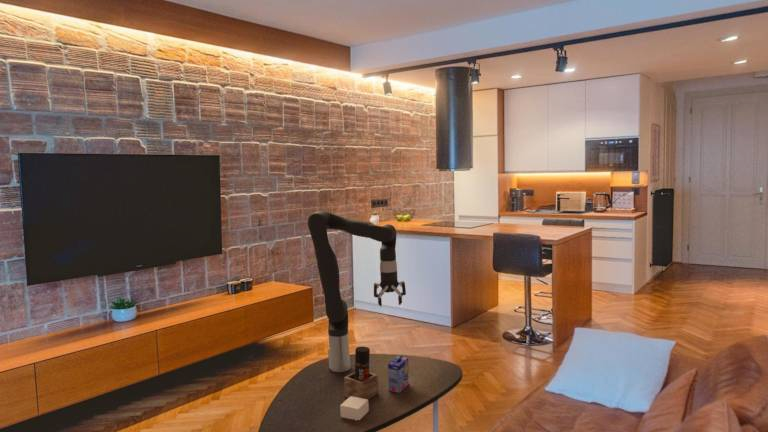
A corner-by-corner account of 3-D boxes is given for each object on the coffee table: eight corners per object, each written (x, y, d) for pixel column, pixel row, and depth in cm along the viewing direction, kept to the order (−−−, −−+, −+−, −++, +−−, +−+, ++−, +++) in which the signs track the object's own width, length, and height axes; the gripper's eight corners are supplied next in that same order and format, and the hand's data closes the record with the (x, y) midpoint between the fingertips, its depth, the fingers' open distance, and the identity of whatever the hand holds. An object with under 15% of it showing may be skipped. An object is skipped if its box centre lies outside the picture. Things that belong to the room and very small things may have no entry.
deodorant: (355, 387, 218) (357, 352, 217) (353, 381, 224) (354, 346, 223) (370, 386, 220) (371, 351, 218) (366, 380, 226) (367, 346, 224)
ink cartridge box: (399, 393, 222) (398, 360, 220) (388, 391, 225) (386, 358, 223) (409, 383, 231) (408, 352, 229) (398, 381, 234) (396, 350, 232)
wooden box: (344, 396, 223) (343, 377, 221) (361, 387, 230) (360, 368, 229) (362, 403, 216) (361, 383, 215) (378, 393, 224) (377, 374, 222)
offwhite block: (340, 417, 206) (340, 405, 205) (351, 407, 213) (350, 396, 212) (358, 421, 202) (358, 409, 202) (368, 411, 209) (368, 399, 209)
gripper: (373, 272, 232) (375, 308, 234) (405, 270, 233) (407, 306, 235) (372, 268, 239) (373, 303, 241) (403, 266, 240) (404, 301, 243)
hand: (390, 305), depth 238 cm, fingers open, 8 cm apart
